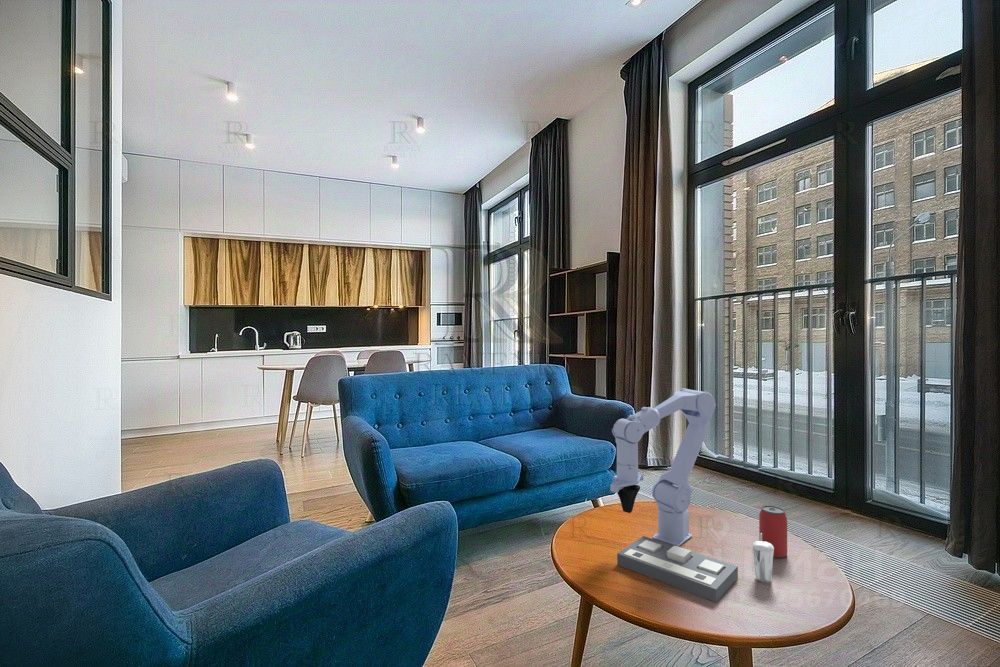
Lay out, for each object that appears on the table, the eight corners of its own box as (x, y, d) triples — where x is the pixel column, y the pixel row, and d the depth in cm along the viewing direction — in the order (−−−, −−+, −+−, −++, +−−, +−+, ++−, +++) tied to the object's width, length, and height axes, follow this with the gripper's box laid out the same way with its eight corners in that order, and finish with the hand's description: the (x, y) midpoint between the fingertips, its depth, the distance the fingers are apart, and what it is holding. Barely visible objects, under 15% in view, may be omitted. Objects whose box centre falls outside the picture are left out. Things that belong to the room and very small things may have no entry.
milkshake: (771, 574, 120) (771, 534, 120) (775, 585, 115) (775, 544, 114) (750, 571, 121) (750, 532, 121) (754, 582, 116) (754, 541, 116)
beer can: (782, 548, 133) (782, 505, 133) (791, 560, 127) (791, 514, 127) (756, 546, 135) (756, 503, 134) (763, 557, 128) (763, 512, 128)
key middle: (674, 556, 126) (674, 545, 126) (691, 562, 123) (691, 550, 123) (667, 562, 123) (666, 551, 123) (683, 568, 120) (683, 556, 120)
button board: (643, 546, 136) (643, 534, 136) (737, 578, 118) (737, 564, 118) (617, 564, 126) (617, 552, 126) (716, 602, 108) (716, 587, 108)
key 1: (646, 550, 132) (646, 539, 132) (661, 556, 129) (661, 544, 129) (638, 556, 129) (638, 545, 129) (653, 562, 126) (653, 550, 126)
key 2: (705, 571, 121) (705, 559, 121) (723, 577, 118) (723, 565, 118) (698, 577, 118) (698, 565, 118) (717, 584, 115) (717, 572, 115)
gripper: (627, 455, 142) (627, 501, 142) (600, 465, 132) (600, 515, 132) (650, 459, 137) (650, 507, 137) (623, 471, 127) (623, 522, 127)
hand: (627, 511), depth 134 cm, fingers closed
